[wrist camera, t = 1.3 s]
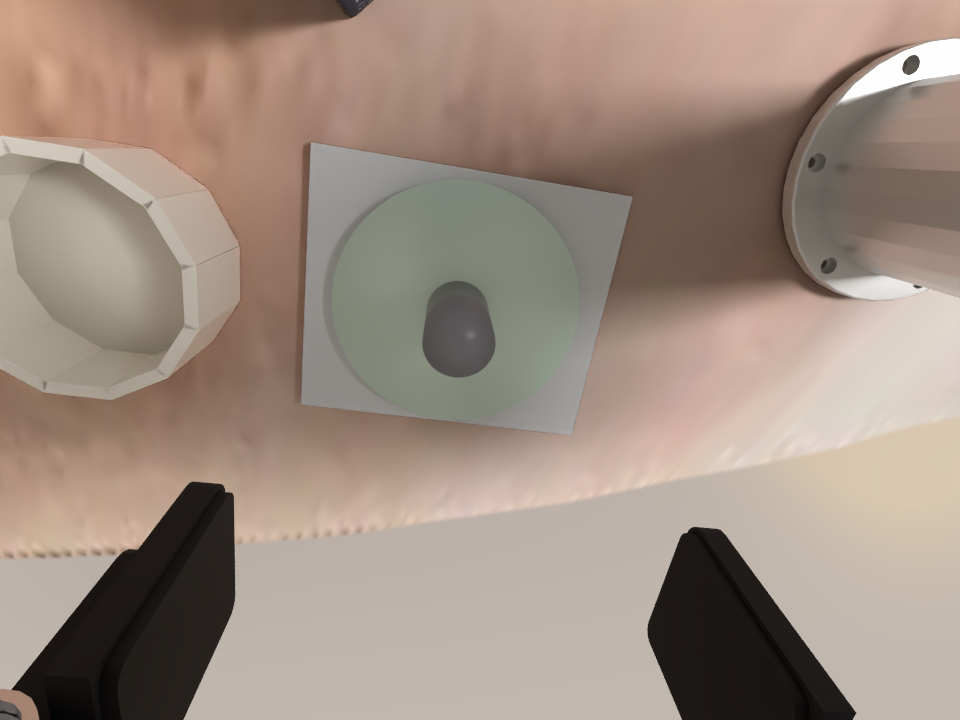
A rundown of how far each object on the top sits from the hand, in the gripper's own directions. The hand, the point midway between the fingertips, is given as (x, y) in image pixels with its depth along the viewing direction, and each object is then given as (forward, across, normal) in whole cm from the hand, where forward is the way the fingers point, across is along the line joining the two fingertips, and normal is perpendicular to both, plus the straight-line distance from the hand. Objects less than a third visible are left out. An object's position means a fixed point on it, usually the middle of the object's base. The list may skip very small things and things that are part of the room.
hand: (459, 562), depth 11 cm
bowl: (+19, +17, 0) cm, 26 cm away
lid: (+19, 0, 0) cm, 19 cm away
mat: (+19, 0, 0) cm, 19 cm away
